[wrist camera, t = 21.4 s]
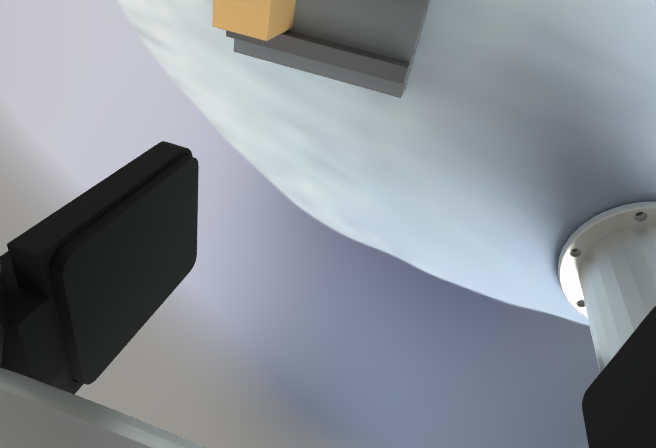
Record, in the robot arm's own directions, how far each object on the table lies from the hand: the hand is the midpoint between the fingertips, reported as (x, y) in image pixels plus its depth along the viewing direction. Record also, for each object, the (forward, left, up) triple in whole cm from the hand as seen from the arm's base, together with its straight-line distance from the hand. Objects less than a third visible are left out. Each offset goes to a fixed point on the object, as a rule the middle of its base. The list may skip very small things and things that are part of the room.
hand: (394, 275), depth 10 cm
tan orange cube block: (+14, +1, -28) cm, 32 cm away
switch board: (+10, +1, -30) cm, 32 cm away
